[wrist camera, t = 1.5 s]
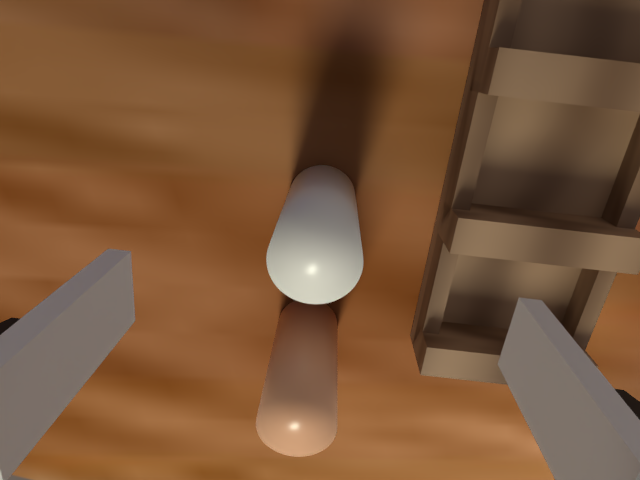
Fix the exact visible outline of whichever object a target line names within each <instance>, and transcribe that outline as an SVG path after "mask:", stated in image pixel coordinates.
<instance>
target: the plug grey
mask: <svg viewBox="0 0 640 480" xmlns="http://www.w3.org/2000/svg"><path fill="white" fill-rule="evenodd" d="M267 269H268V272H269V275H270V277H271V279H272V281H273V282H274V284H275V285H276V286H277V287H278V289H279V290H280V291H282V292H283V293H284V294H285V295H287V296H288V297H290V298H292V299H294V300H296V301H299V302H302V303H307V304H325V303H330V302H333V301H336V300H338V299H340V298H342V297H343V296H345V295H346V294H347V293H349V292H350V291H351V290H352V289H353V288H354V286H355V285H356V284H357V282H358V280H359V279H360V276H361V273H362V269H363V252H362V244H361V236H360V228H359V220H358V211H357V203H356V195H355V190H354V186H353V184H352V182H351V180H350V179H349V178H348V176H347V175H346V174H345V173H343V172H342V171H341V170H339V169H337V168H335V167H332V166H328V165H316V166H312V167H309V168H307V169H305V170H303V171H302V172H301V173H299V174H298V175H297V176H296V178H295V179H294V181H293V182H292V184H291V187H290V190H289V192H288V195H287V198H286V200H285V203H284V206H283V209H282V211H281V214H280V217H279V220H278V222H277V225H276V228H275V230H274V233H273V236H272V239H271V241H270V244H269V247H268V251H267Z"/></svg>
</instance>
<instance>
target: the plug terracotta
mask: <svg viewBox="0 0 640 480" xmlns="http://www.w3.org/2000/svg"><path fill="white" fill-rule="evenodd" d="M256 429H257V432H258V435H259V437H260V438H261V440H262V441H263V442H264V443H265V444H266V445H267V446H268V447H270V448H271V449H273V450H274V451H276V452H278V453H281V454H284V455H288V456H296V457H302V456H309V455H313V454H316V453H319V452H321V451H323V450H324V449H326V448H327V447H328V446H329V445H330V444H331V443H332V442H333V440H334V438H335V436H336V433H337V318H336V316H335V314H334V312H333V311H332V309H331V308H330V307H329V306H328V305H326V304H307V303H302V302H299V301H293V302H291V303H290V304H288V305H287V306H286V307H285V308H284V309H283V310H282V312H281V314H280V317H279V321H278V325H277V330H276V334H275V339H274V343H273V347H272V352H271V356H270V361H269V365H268V370H267V374H266V378H265V383H264V387H263V392H262V396H261V401H260V405H259V409H258V414H257V418H256Z"/></svg>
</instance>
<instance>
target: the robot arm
mask: <svg viewBox="0 0 640 480" xmlns="http://www.w3.org/2000/svg"><path fill="white" fill-rule="evenodd" d="M134 322H135V309H134V293H133V278H132V262H131V251H124V250H115V249H107V250H106V251H105V252H104V253H102V254H101V255H100V256H99V257H97V258H96V259H95V260H94V261H92V262H91V263H90V264H89V265H87V266H86V267H85V268H83V269H82V270H81V271H80V272H78V273H77V274H76V275H75V276H73V277H72V278H71V279H70V280H68V281H67V282H66V283H65V284H63V285H62V286H61V287H60V288H58V289H57V290H56V291H55V292H53V293H52V294H51V295H50V296H48V297H47V298H46V299H45V300H43V301H42V302H41V303H40V304H38V305H37V306H36V307H35V308H33V309H32V310H31V311H30V312H28V313H27V314H26V315H25V316H23V317H22V318H21V319H18V318H10V319H8V320H6V321H3V322H1V323H0V480H8V478H9V477H10V476H11V475H12V473H13V472H14V471H15V470H16V468H17V467H18V466H19V465H20V464H21V462H22V461H23V460H24V459H25V457H26V456H27V455H28V454H29V452H30V451H31V450H32V449H33V447H34V446H35V445H36V444H37V442H38V441H39V440H40V439H41V437H42V436H43V435H44V434H45V432H46V431H47V430H48V429H49V427H50V426H51V425H52V424H53V422H54V421H55V420H56V419H57V417H58V416H59V415H60V414H61V412H62V411H63V410H64V409H65V408H66V406H67V405H68V404H69V403H70V401H71V400H72V399H73V398H74V396H75V395H76V394H77V393H78V391H79V390H80V389H81V388H82V386H83V385H84V384H85V383H86V381H87V380H88V379H89V378H90V376H91V375H92V374H93V373H94V371H95V370H96V369H97V368H98V366H99V365H100V364H101V363H102V361H103V360H104V359H105V358H106V357H107V355H108V354H109V353H110V352H111V350H112V349H113V348H114V347H115V345H116V344H117V343H118V342H119V340H120V339H121V338H122V337H123V335H124V334H125V333H126V332H127V330H128V329H129V328H130V327H131V325H132V324H133V323H134ZM498 366H499V368H500V370H501V372H502V374H503V376H504V378H505V380H506V382H507V384H508V386H509V388H510V390H511V392H512V394H513V396H514V398H515V400H516V402H517V404H518V406H519V408H520V410H521V412H522V414H523V416H524V418H525V420H526V422H527V424H528V426H529V428H530V430H531V432H532V434H533V436H534V438H535V440H536V442H537V444H538V446H539V448H540V450H541V452H542V454H543V456H544V458H545V460H546V462H547V464H548V466H549V468H550V470H551V472H552V474H553V476H554V478H555V480H640V402H639V401H638V400H636V399H635V398H634V397H632V396H631V395H630V394H628V393H627V392H626V391H624V390H619V389H614V388H613V387H612V386H611V384H610V383H609V382H608V381H607V379H606V378H605V377H604V376H603V375H602V373H601V372H600V371H599V370H598V368H597V367H596V366H595V365H594V364H593V362H592V361H591V360H590V359H589V357H588V356H587V355H586V354H585V353H584V351H583V350H582V349H581V348H580V346H579V345H578V344H577V343H576V341H575V340H574V339H573V338H572V337H571V335H570V334H569V333H568V332H567V330H566V329H565V328H564V327H563V326H562V324H561V323H560V322H559V321H558V319H557V318H556V317H555V316H554V315H553V313H552V312H551V311H550V310H549V308H548V307H547V306H546V305H545V304H544V302H543V301H542V300H536V299H528V298H520V297H519V299H518V302H517V305H516V308H515V311H514V314H513V317H512V321H511V324H510V327H509V330H508V333H507V336H506V339H505V343H504V346H503V349H502V352H501V355H500V358H499V361H498Z"/></svg>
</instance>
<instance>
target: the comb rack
mask: <svg viewBox="0 0 640 480" xmlns="http://www.w3.org/2000/svg"><path fill="white" fill-rule="evenodd" d="M639 217H640V0H484V4H483V9H482V13H481V18H480V22H479V27H478V31H477V36H476V40H475V45H474V49H473V54H472V58H471V63H470V67H469V72H468V77H467V81H466V86H465V90H464V95H463V99H462V104H461V108H460V113H459V117H458V122H457V126H456V131H455V135H454V140H453V145H452V149H451V154H450V158H449V163H448V167H447V172H446V176H445V181H444V185H443V190H442V194H441V199H440V203H439V208H438V213H437V217H436V222H435V226H434V231H433V235H432V240H431V244H430V249H429V253H428V258H427V262H426V267H425V271H424V276H423V281H422V285H421V290H420V294H419V299H418V303H417V308H416V312H415V317H414V321H413V326H412V330H411V335H410V337H411V340H412V344H413V348H414V352H415V356H416V360H417V364H418V367H419V371H420V375H425V376H434V377H443V378H453V379H462V380H471V381H480V382H489V383H498V384H507V382H506V380H505V378H504V376H503V374H502V372H501V370H500V368H499V366H498V361H499V358H500V355H501V352H502V349H503V346H504V343H505V339H506V336H507V333H508V330H509V327H510V324H511V321H512V317H513V314H514V311H515V308H516V305H517V302H518V299H519V297H520V298H528V299H536V300H542V301H543V302H544V304H545V305H546V306H547V307H548V308H549V310H550V311H551V312H552V313H553V315H554V316H555V317H556V318H557V319H558V321H559V322H560V323H561V324H562V326H563V327H564V328H565V329H566V330H567V332H568V333H569V334H570V335H571V337H572V338H573V339H574V340H575V341H576V343H577V344H578V345H579V346H580V348H581V349H582V350H583V351H584V353H585V354H586V355H587V356H588V357H589V359H590V360H591V361H592V362H593V364H594V365H595V366H596V367H597V368H598V365H597V364H596V363H595V362H594V361H593V359H592V358H591V357H590V356H589V355H588V354H587V352H586V351H585V349H586V347H587V344H588V342H589V339H590V337H591V334H592V332H593V329H594V327H595V325H596V322H597V320H598V317H599V315H600V312H601V310H602V308H603V305H604V303H605V300H606V298H607V295H608V293H609V290H610V288H611V286H612V283H613V281H614V278H615V276H616V273H617V272H619V273H628V274H637V275H638V273H639V271H640V232H639V231H637V230H635V227H636V225H637V222H638V220H639ZM507 385H508V384H507Z"/></svg>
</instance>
